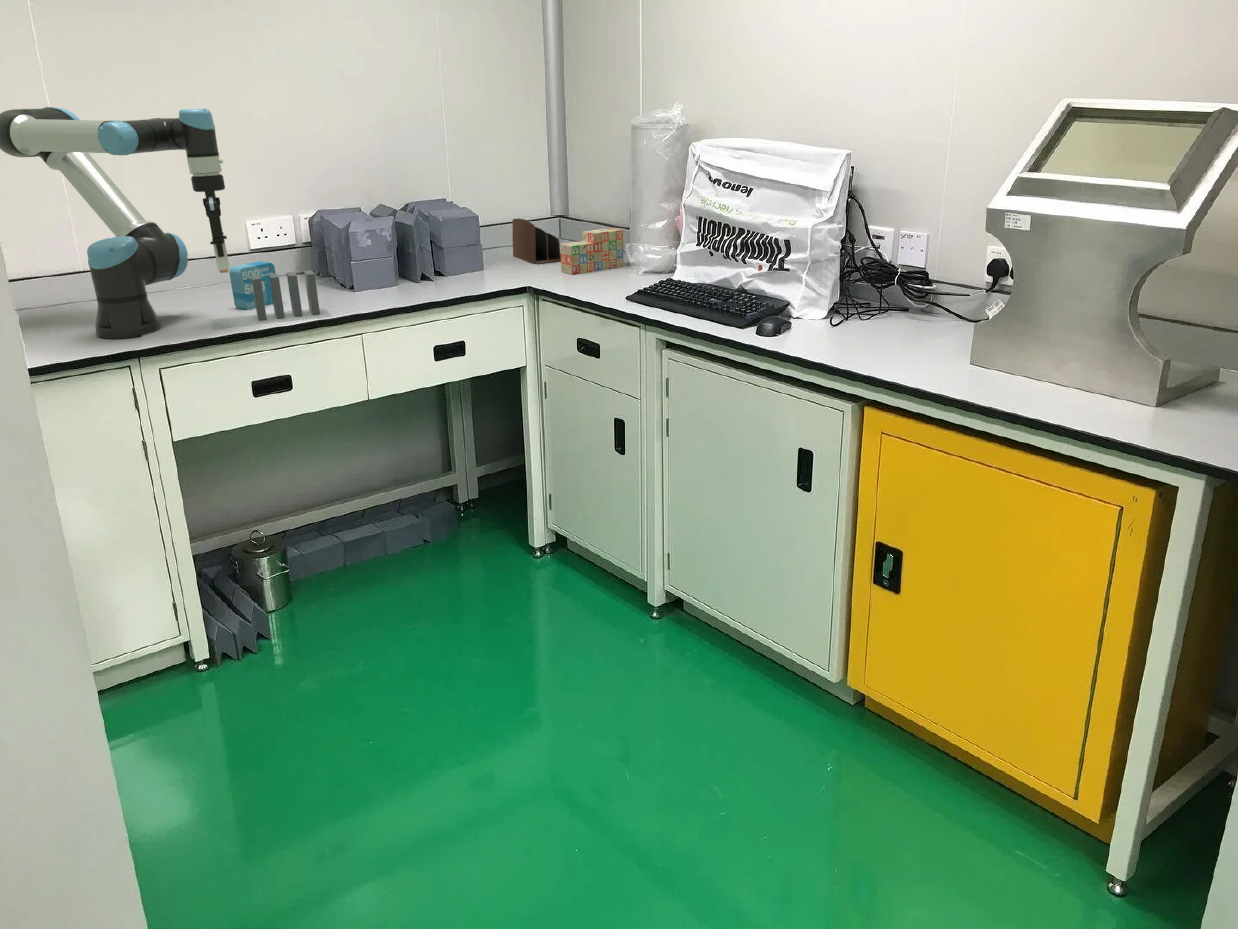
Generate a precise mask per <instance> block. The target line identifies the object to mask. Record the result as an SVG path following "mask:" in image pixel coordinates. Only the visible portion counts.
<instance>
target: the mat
mask: <svg viewBox="0 0 1238 929" xmlns="http://www.w3.org/2000/svg"><path fill="white" fill-rule="evenodd" d="M319 310H320V314H319V315H312V314H311V312H310V310H309V308H308V309H302V315H303V316H301V317H295V316H294V315H293V313H292V310H290V311H284V315H285V318H282V319H277V318H276V316H275V312H271V313H266V317H267V320H263V321H259V319H258V317H257V314H253V315H252V314H251V315H244V316H243V315H241V316H231V317H222V318H212V319H210V320H211V321H210V322H211V325H212V329H213V330H218V329H219V330H220V329H228V328H229V329H230V328H236V327H237V328H238V327H245V326H255V325H265V324H266V325H267V324H273V323H274V324H275V323H276V322H277V323H282V322H283V323H284V322H294V321H303V320H304V319H305V320H311V319H321V318H329V317H330V318H331V317H333V316H332V315H331V313H330V311H329V310H328V309H327V308H326V307H319ZM301 319H302V320H301ZM305 320H304V321H305ZM277 323H276V324H277Z"/></svg>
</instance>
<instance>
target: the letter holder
mask: <svg viewBox="0 0 1238 929" xmlns="http://www.w3.org/2000/svg"><path fill="white" fill-rule="evenodd" d="M511 224H512V233H511V234H512V256H513V257H514V258H517V259H519V260H522V261H523V262H524V261H525V262H527V263H529V264H532V265H534V264H537V265H545V264H554V263H561V245H560V244H561V243H560V240H559V238H558V237H557V236H555V235H553V234H552V233H550V232H546V231H545V230H543V229H542V228H539V227H537V226H535V224H533V223H532V222H530V221H528V220H526V219H523V218H512V223H511Z"/></svg>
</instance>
